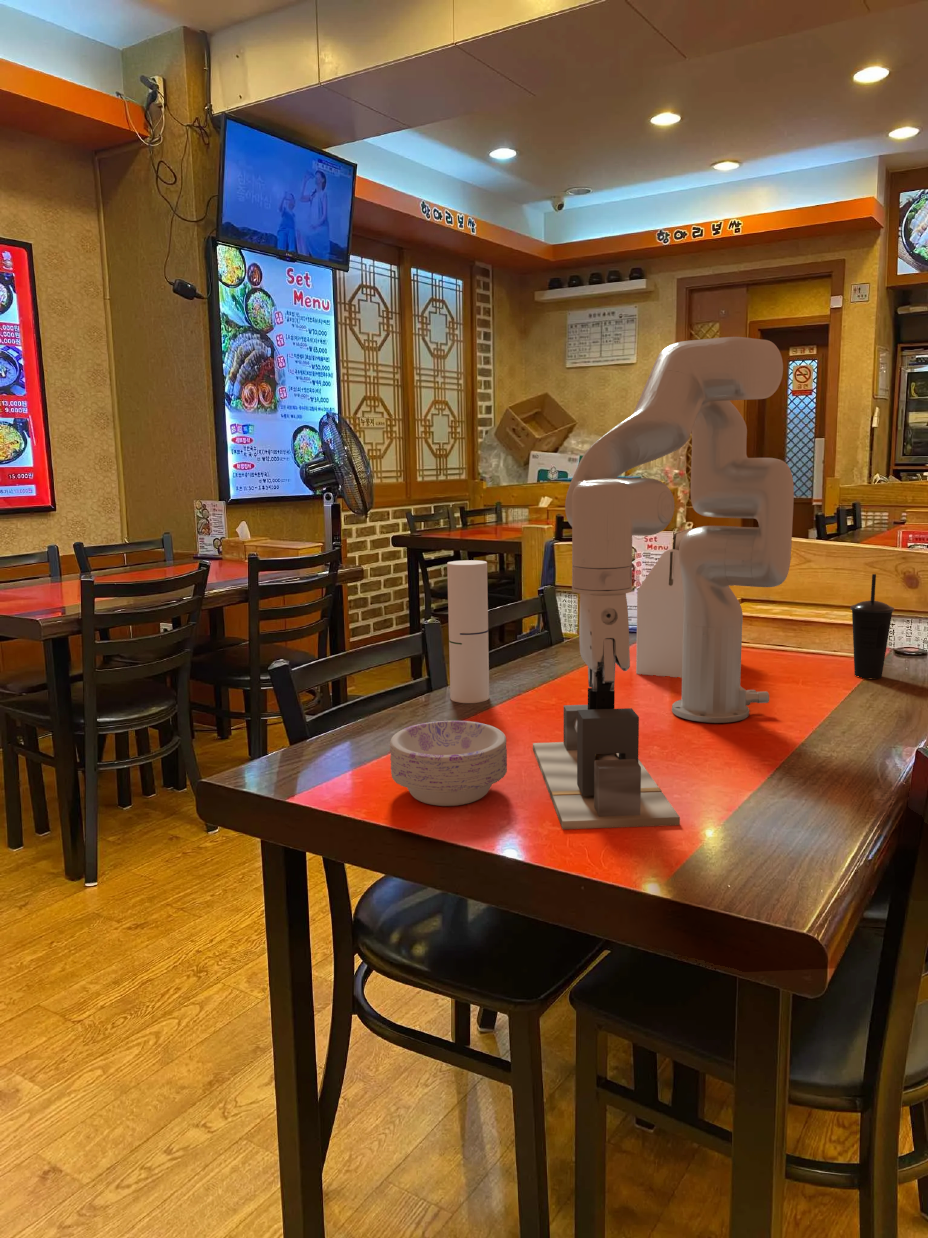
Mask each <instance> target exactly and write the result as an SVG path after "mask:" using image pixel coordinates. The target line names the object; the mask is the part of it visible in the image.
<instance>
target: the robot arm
mask: <svg viewBox="0 0 928 1238" xmlns="http://www.w3.org/2000/svg"><path fill="white" fill-rule="evenodd" d="M783 371H784V362H783V357H782V353H781V352H780V349H779V348H778V347H777V345H776V344H775V343H774V342H772V341H770V340H768V339H759V338H751V337H744V336H743V337H742V336H725V337H715V338H704V339H694V340H693V339H692V340H691V339H690V340H684V341H678V342H674V343H672V344H669V345H668V346H666V347H664V349H662V350H661V351H660V352H659V354H658V356H657V357H656V359H655V362H654V364H653V367H652V368H651V371H650V373H649V375H648V377H647V380H646V382H645V384H644V387H643V389H642V392H641V394H640V397H639V398H638V401H637V404H636V406H635V408H634V411H633V412H632V414H631V415H630V416H629V417H627V418H625V419H624V420H623V421H621V422H619V423H618V424H616V426H615V425H614V427H613V428H612V429H609V431H607V432H606V433H605V434H604V435H602V436H601V437H600V438H599V439H597V440H596V441H595V442H593V444H591V446H590V447H589V448H588V449H586V451H585V453H584V454H583V456H582V457H581V458H580V461H579V463H578V465H577V467H576V470H575V472H574V474H573V476H572V479H571V481H570V483H569V485H568V486H569V487H568V490H567V492H566V495H565V496H566V498H565V501H564V502H565V503H564V504H565V505H564V511H565V515H566V516H565V517H566V520H567V522H568V524H569V525H570V527H571V528H572V531H571V532H572V533H571V534H572V535H571V536H572V537H571V538H572V539H571V540H572V541H571V544H572V545H571V549H572V550H571V554H572V555H571V556H572V557H571V558H572V559H571V560H572V561H571V563H572V567H571V569H572V570H571V574H572V575H571V590H572V591H571V592H572V593H576V594H579V619H578V620H579V621H578V622H579V625H578V626H579V630H578V631H579V632H578V634H579V635H578V636H579V637H578V638H579V653H580V657H581V659H582V661H584V663H585V665H586V666H587V680H588V681H587V682H588V688H587V705H588V710H592V709H615V701H616V700H615V693H616V691H615V679H616V665H617V666H618V667H619V668H620V669H621V670H622V671H623V672H628V670H629V669H630V668H631V662H630V661H631V660H630V659H631V657H630V656H631V655H630V654H631V653H630V628H629V627H630V625H629V610H628V601H627V600H628V599H627V594H628V593H631V592H632V588H633V587H632V586H633V585H632V584H633V581H632V580H633V536H634V537H635V536H638V537H641V536H643V537H645V536H646V537H649V536H653V535H657V534H659V533H660V532H662V531H664V530H665V529H666V528H667V527H668V525H669V524H670V523H671V521H672V518H673V517H674V513H675V499H674V498H675V497H674V495H673V493H672V491H671V489H670V488H669V486H668V485H667V484H665V483H664V482H662V481H660V480H658V479H655V478H649V477H627V478H626V477H619V476H621V475H622V474H624V473H626V472H628V471H630V470H632V469H634V468H636V467H639V466H641V465H644V464H647V463H651V462H653V461H656V460H658V459H660V458H663V457H665V456H668V455H670V454H672V453H675V452H676V451H678V450H680V449H681V448H683V447H684V446H685V444H686V443H687V442H688V440H689V439H690V436H691V463H690V464H691V465H690V466H691V467H690V501H691V507H692V509H693V510H694V512H696V513H697V514H699V515H701V516H702V517H711V518H725V519H728V518H729V519H755V520H756V521H757V522H758V526H757V527H756V526H754V527H753V526H751V527H750V526H737V525H736V526H735V525H734V526H731V525H728V526H727V525H703V526H698V527H696V528H692V530H690V531H688V532H687V533H686V534H685V535H684V536H683V538H682V540H681V542H680V545H679V563H680V569H681V576H682V583H683V599H684V612H683V657H682V678H681V699H679V700H676V701H674V702H673V703H672V705H671V712H672V714H673V715H675V716H676V717H678V718H682V719H685V720H688V721H692V722H698V723H706V724H707V723H711V724H725V723H727V724H728V723H734V722H739V721H743V720H745V719H747V718H748V717H749V716H750V707H748V706H750V705H751V704H752V703H757V704H767V703H769V702H770V693H769V692H768V690H767V691H756V689H747V690H746V689H745V688H744V687H742V686H741V674H742V671H741V669H742V668H741V667H742V643H743V642H742V640H743V638H742V637H743V617H744V615H743V609H742V605H741V603H740V601H739V599H738V597H737V596H736V595H735V593H734V592H733V591H732V589H731V586H732V587H733V586H737V587H738V586H739V587H752V588H753V587H754V588H775V587H778V586H780V585H782V584H783V583H784V582H785V581H786V579H787V577H788V575H789V571H790V567H791V558H792V538H793V517H794V503H795V502H794V500H795V499H794V495H795V494H794V493H795V492H794V491H795V489H794V488H795V487H794V485H795V484H794V479H793V474H792V471H791V468H790V467H789V465H788V464H787V463H786V461H784V460H782V459H778V458H773V457H748V455H747V441H748V440H747V438H748V437H747V436H748V429H747V428H748V427H747V424H746V421H745V420H744V417H743V416H742V414H741V413H740V411H739V410H738V408H737V407H736V406H735V404H733V403H732V401H743V400H745V401H746V400H763V399H764V400H765V399H768V398H770V397H771V396H773V395H774V393H775V394H776V391H777V390H778V389H779V386H780V384H781V382H782V379H783V373H784V372H783Z"/></svg>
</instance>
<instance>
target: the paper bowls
mask: <svg viewBox="0 0 928 1238" xmlns="http://www.w3.org/2000/svg"><path fill="white" fill-rule="evenodd" d="M507 750H508V749H507V737H506V735H505V733H504V732H503V731H502V730H500V729H499V728H497V727H495V726H493V725H490V724H488V723H487V724H485V723H482V722H478V721H470V720H438V721H437V720H435V721H430V722H428V721H427V722H423V723H418V724H413V725H410V726H408V727H407V726H406V727H405V728H403V729H401V730H399V731H397V732H396V733H395V734H393V736H392V737H391V739H390V741H389V751H390V753H389V754H390V757H389V758H390V773H391V778H392V780H393V781H394V783H396V784H397V785H400V786H401V787H404V788H407V790H408V792H409V793H410V795H411V796H412V797H413V798H414V799H415V800H417V801H418V802H422V803H423V804H427V805H432V806H437V807H438V806H440V807H455V806H462V805H466V804H467V805H468V804H471V803H473V802H476V801H479V800H480V799H483V798H484V797H485V796H486V795H487V794H488V793H489V792H490V789H491V787H492V785H494V784H496V783H498V782H499V781H501V780H502V779H503V778H504V777H505V775H506V774H507V772H508V771H507V770H508V753H507V752H508V751H507Z"/></svg>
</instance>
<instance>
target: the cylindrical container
mask: <svg viewBox="0 0 928 1238" xmlns="http://www.w3.org/2000/svg"><path fill="white" fill-rule="evenodd" d="M446 568H447V569H446V570H447V573H446V574H447V604H448V605H447V606H448V608H447V613H448V650H449V651H448V652H449V657H448V659H449V686H450V687H449V689H450V691H449V693H450V694H449V695H450V697H449V698H450V700H451V701H452V702H456V703H461V704H476V703H477V704H478V703H483V702H485V701H488V700H489V699H490V670H489V669H490V667H489V665H490V663H489V662H490V660H489V656H490V655H489V650H490V649H489V599H488V594H489V593H488V562H487V561H485V560H477V559H476V560H475V559H473V560H472V559H471V560H469V559H468V560H465V559H464V560H453V561H448V562H447V564H446Z"/></svg>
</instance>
